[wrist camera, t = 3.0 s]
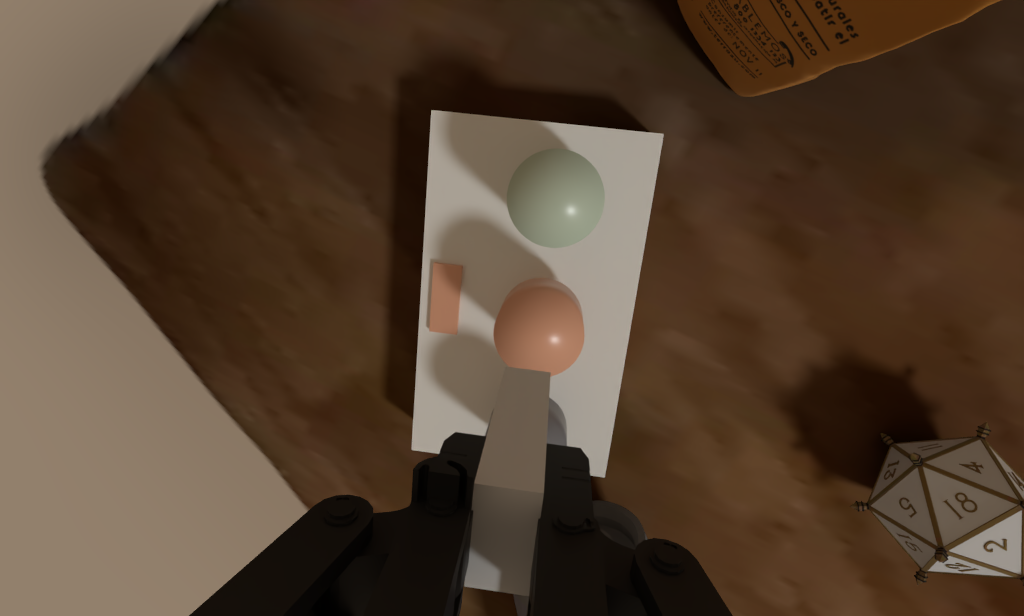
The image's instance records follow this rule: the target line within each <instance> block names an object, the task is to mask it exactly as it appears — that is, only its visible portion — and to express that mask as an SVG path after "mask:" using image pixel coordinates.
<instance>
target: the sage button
mask: <svg viewBox="0 0 1024 616" xmlns="http://www.w3.org/2000/svg"><path fill="white" fill-rule="evenodd" d="M604 202H605V192H604V186H603V183H602V180H601V177H600V175H599V173H598V172H597V170H596V169H595V167H594V166H593V165H592V164H591V163H590V162H589V161H588V160H587V159H586V158H584V157H583V156H581V155H580V154H578V153H576V152H573V151H570V150H566V149H556V148H555V149H547V150H543V151H540V152H537V153H535V154H533V155H531V156H530V157H528V158H527V159H526V160H524V161H523V162H522V163H521V164H520V165H519V167H518V168H517V169H516V170H515V172H514V174H513V175H512V178H511V180H510V183H509V186H508V191H507V208H508V212H509V215H510V218H511V220H512V222H513V224H514V226H515V227H516V228H517V230H518V231H519V232H520V233H521V234H522V235H523V236H524V237H525V238H526V239H528V240H530V241H531V242H533V243H535V244H537V245H540V246H543V247H549V248H561V247H567V246H570V245H573V244H575V243H577V242H579V241H581V240H582V239H584V238H585V237H586V236H588V235H589V234H590V233H591V232H592V230H593V229H594V228H595V227H596V225H597V224H598V222H599V220H600V218H601V215H602V212H603V208H604Z"/></svg>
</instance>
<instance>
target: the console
mask: <svg viewBox="0 0 1024 616" xmlns="http://www.w3.org/2000/svg"><path fill="white" fill-rule="evenodd" d="M663 136H664V134H659V133H650V132H640V131H630V130H621V129H611V128H601V127H591V126H582V125H572V124H562V123H553V122H543V121H533V120H524V119H514V118H504V117H494V116H485V115H475V114H465V113H456V112H446V111H436V110H431V124H430V141H429V158H428V175H427V192H426V210H425V227H424V244H423V261H422V279H421V296H420V313H419V330H418V348H417V365H416V382H415V399H414V416H413V434H412V450H416V451H423V452H430V453H437V454H439V453H440V449H441V447H442V445H443V442H444V440H445V439H447V438H448V437H449V436H451V435H452V434H453V433H455V432H459V433H466V434H474V435H481V436H485V434H486V430H487V427H488V424H489V420H490V417H491V414H492V411H493V409H494V407H495V403H496V400H497V396H498V392H499V388H500V385H501V381H502V377H503V374H504V370H505V366H506V367H509V366H508V365H507V364H506V363H505V362H504V361H503V360H502V358H501V357H500V355H499V354H498V352H497V349H496V347H495V343H494V336H493V333H494V324H495V321H496V318H497V316H498V313H499V311H500V309H501V306H502V304H503V302H504V300H505V298H506V296H507V295H508V293H509V292H510V291H511V290H512V289H513V288H514V287H515V286H517V285H518V284H520V283H522V282H524V281H526V280H529V279H533V278H549V279H553V280H556V281H558V282H561V283H562V284H564V285H566V286H567V287H568V288H569V289H570V290H571V291H572V292H573V293H574V294H575V296H576V297H577V299H578V301H579V303H580V305H581V309H582V315H583V324H584V335H585V336H584V344H583V348H582V351H581V353H580V355H579V357H578V358H577V360H576V361H575V362H574V363H573V364H572V365H571V366H570V367H569V368H568V369H566V370H565V371H563V372H562V373H559V374H557V375H554V376H551V377H550V392H549V398H551V399H552V400H554V401H555V402H556V403H557V404H558V405H559V407H560V408H561V409H562V411H563V413H564V416H565V419H566V424H567V446H570V447H577V448H581V449H582V450H583V452H584V453H585V455H586V456H587V457H588V459H589V466H590V476H597V477H604V478H605V473H606V468H607V462H608V456H609V450H610V444H611V438H612V433H613V427H614V421H615V415H616V409H617V404H618V398H619V392H620V386H621V380H622V374H623V369H624V363H625V357H626V351H627V345H628V340H629V334H630V328H631V322H632V316H633V310H634V305H635V299H636V293H637V287H638V281H639V275H640V270H641V264H642V258H643V252H644V246H645V241H646V235H647V229H648V223H649V217H650V211H651V206H652V200H653V194H654V188H655V182H656V177H657V171H658V165H659V159H660V153H661V147H662V142H663ZM555 148H556V149H566V150H570V151H573V152H576V153H578V154H580V155H581V156H583V157H584V158H586V159H587V160H588V161H589V162H590V163H591V164H592V165H593V166H594V167H595V169H596V170H597V172H598V173H599V175H600V177H601V180H602V183H603V186H604V192H605V202H604V208H603V212H602V215H601V218H600V220H599V222H598V224H597V225H596V227H595V228H594V229H593V230H592V232H591V233H590V234H589V235H588V236H586V237H585V238H584V239H582V240H581V241H579V242H577V243H575V244H573V245H570V246H567V247H561V248H549V247H543V246H540V245H537V244H535V243H533V242H531V241H530V240H528V239H526V238H525V237H524V236H523V235H522V234H521V233H520V232H519V231H518V230H517V228H516V227H515V226H514V224H513V222H512V220H511V218H510V215H509V212H508V208H507V191H508V186H509V183H510V180H511V178H512V175H513V174H514V172H515V170H516V169H517V168H518V167H519V165H520V164H521V163H522V162H523V161H524V160H526V159H527V158H528V157H530V156H531V155H533V154H535V153H537V152H540V151H543V150H547V149H555Z"/></svg>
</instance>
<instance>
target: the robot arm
mask: <svg viewBox="0 0 1024 616" xmlns="http://www.w3.org/2000/svg"><path fill="white" fill-rule="evenodd" d="M550 375H551V372H544V371H536V370H529V369H521V368H513V367H506V366H505V370H504V374H503V377H502V381H501V385H500V388H499V392H498V396H497V400H496V403H495V407H494V411H493V415H492V418H491V422H490V426H489V429H488V433H487V436H481V435H474V434H466V433H459V432H455V433H453V434H452V435H451V436H449V437H448V438H447V439H445V440H444V442H443V445H442V447H441V449H440V453H439V454H438V457H433V458H428V459H426V460H424V461H422V462H420V463H418V464H417V465H416V467H415V468H414V469H413V483H412V501H411V504H410V506H409V507H407V508H404V509H401V510H398V511H392V512H383V513H373V507H372V506H371V505H370V503H369V502H368V501H367V500H365V499H363V498H361V497H358V496H353V495H338V496H333V497H330V498H327V499H324V500H323V501H321V502H319V503H318V504H316V505H315V506H314V507H312V508H311V509H310V510H309V511H308V512H307V513H306V514H304V515H303V516H302V517H301V518H300V519H299V520H298V521H297V522H295V523H294V524H293V525H292V526H291V527H290V528H288V529H287V530H286V531H285V532H284V533H283V534H282V535H280V536H279V537H278V538H277V539H276V540H275V541H274V542H273V543H272V544H270V545H269V546H268V547H267V548H266V549H265V550H263V552H261V553H260V554H259V555H258V556H257V557H255V558H254V559H253V560H252V561H251V562H250V563H249V564H247V565H246V566H245V567H244V568H243V569H242V570H241V571H239V572H238V573H237V574H236V575H235V576H234V577H233V578H232V579H230V580H229V581H228V582H227V583H226V584H225V585H223V586H222V587H221V588H220V589H219V590H218V591H217V592H216V593H214V594H213V595H212V596H211V597H210V598H209V599H208V600H206V601H205V602H204V603H203V604H202V605H201V606H200V607H199V608H197V609H196V610H195V611H194V612H193V613H192V614H190V615H189V616H459V614H460V609H461V603H462V593H463V585H464V586H465V587H471V588H478V589H484V590H491V591H497V592H503V593H510V594H516V595H523V596H529V601H528V608H527V615H526V616H732V614H731V613H730V611H729V609H728V608H727V606H726V605H725V603H724V602H723V600H722V598H721V597H720V595H719V594H718V592H717V590H716V589H715V587H714V586H713V584H712V583H711V581H710V579H709V578H708V576H707V575H706V573H705V572H704V570H703V568H702V567H701V565H700V564H699V562H698V561H697V559H696V558H695V557H694V556H693V555H692V554H691V553H690V551H688V550H687V549H685V548H684V547H682V546H681V545H679V544H677V543H674V542H671V541H669V540H665V539H657V538H653V539H647V540H643V541H642V542H641V543H639V544H638V545H637V546H636V549H635V550H634V549H631V548H628V547H626V546H623V545H621V544H619V543H617V542H615V541H613V540H611V539H610V538H608V537H607V536H605V535H604V534H603V533H602V532H601V531H600V527H599V524H598V522H597V520H596V519H595V518H594V513H593V501H592V489H591V478H590V466H589V459H588V457H587V456H586V455H585V453H584V452H583V450H582V449H581V448H577V447H570V446H563V445H556V444H548V443H547V428H548V410H549V392H550ZM464 581H465V584H464Z"/></svg>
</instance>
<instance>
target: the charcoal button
mask: <svg viewBox="0 0 1024 616" xmlns="http://www.w3.org/2000/svg"><path fill="white" fill-rule="evenodd" d="M493 411H494V409H493ZM493 411H492V414H491V417H490V420H489V424H488V427H487V430H486V434H485V436H487V433H488V429H489V426H490V422H491V418H492V415H493ZM547 443H548V444H556V445H563V446H567V424H566V419H565V416H564V413H563V411H562V409H561V408H560V407H559V405H558V404H557V403H556V402H555V401H554V400H552V399H551V398H549V410H548V428H547Z"/></svg>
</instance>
